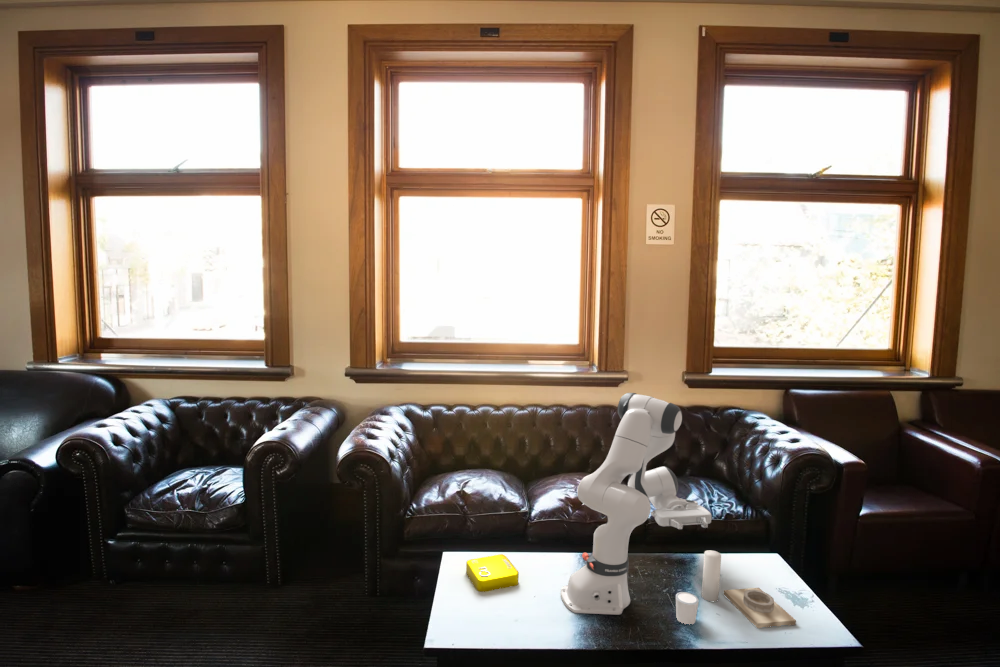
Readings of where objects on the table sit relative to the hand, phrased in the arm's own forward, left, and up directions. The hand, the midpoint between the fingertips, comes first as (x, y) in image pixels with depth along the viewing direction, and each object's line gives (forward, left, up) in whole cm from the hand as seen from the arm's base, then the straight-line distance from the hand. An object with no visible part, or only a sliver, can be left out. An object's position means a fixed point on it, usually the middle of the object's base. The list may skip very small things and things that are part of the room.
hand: (693, 526), depth 193 cm
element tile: (-70, +8, -19) cm, 73 cm away
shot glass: (-14, -23, -19) cm, 33 cm away
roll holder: (+12, -21, -18) cm, 30 cm away
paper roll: (0, -13, -18) cm, 23 cm away
